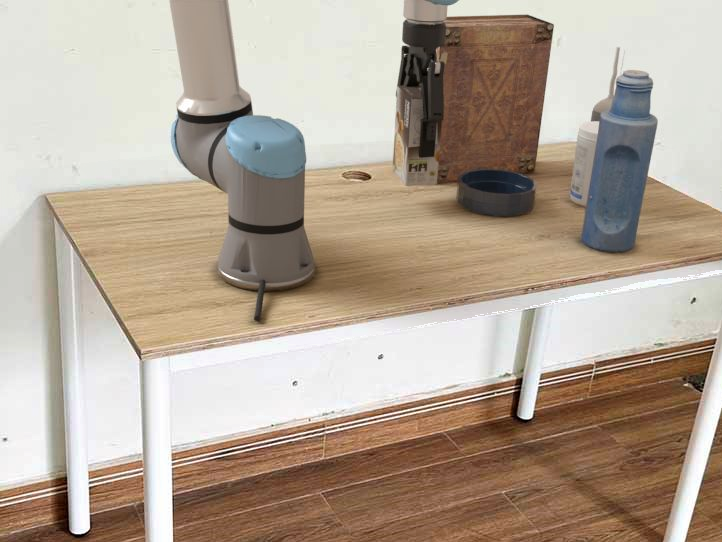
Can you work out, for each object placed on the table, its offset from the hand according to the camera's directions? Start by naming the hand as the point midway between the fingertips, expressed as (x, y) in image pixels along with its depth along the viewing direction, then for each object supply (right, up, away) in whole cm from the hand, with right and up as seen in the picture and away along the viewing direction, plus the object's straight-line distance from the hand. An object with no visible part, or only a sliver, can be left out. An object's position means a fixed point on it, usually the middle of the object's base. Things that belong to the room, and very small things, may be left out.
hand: (416, 148), depth 194 cm
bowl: (+15, -9, +9) cm, 20 cm away
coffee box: (0, -5, +3) cm, 6 cm away
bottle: (+34, -19, -6) cm, 39 cm away
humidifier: (+40, +4, +33) cm, 52 cm away
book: (+12, +1, +25) cm, 28 cm away
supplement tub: (+35, -8, +13) cm, 38 cm away
